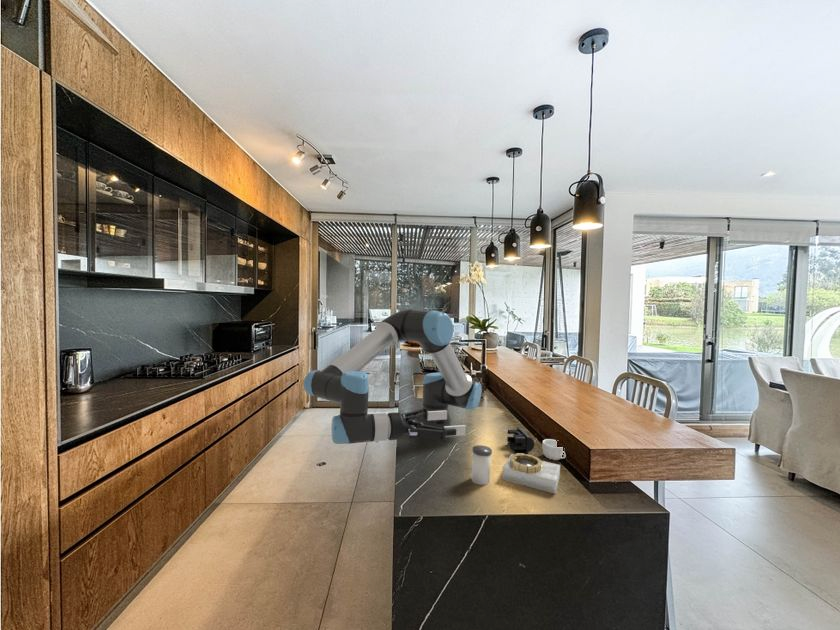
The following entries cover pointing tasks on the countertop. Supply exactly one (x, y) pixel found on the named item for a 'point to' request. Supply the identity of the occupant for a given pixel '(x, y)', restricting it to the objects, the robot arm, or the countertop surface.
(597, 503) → the countertop surface
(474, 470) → the telephoto lens
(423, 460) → the countertop surface
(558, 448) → the teacup
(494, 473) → the countertop surface
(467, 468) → the countertop surface
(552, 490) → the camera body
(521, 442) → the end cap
